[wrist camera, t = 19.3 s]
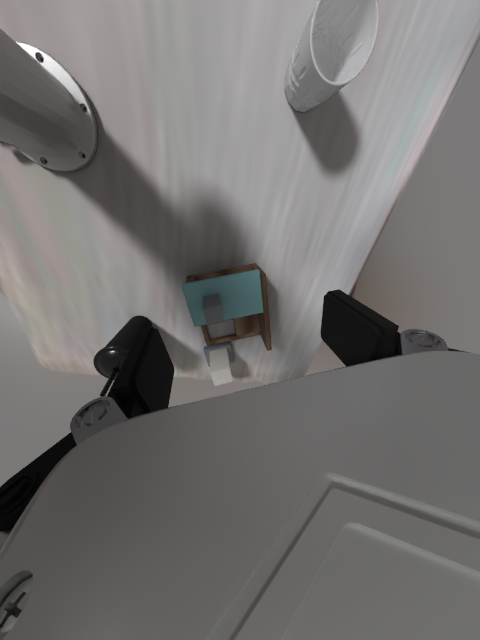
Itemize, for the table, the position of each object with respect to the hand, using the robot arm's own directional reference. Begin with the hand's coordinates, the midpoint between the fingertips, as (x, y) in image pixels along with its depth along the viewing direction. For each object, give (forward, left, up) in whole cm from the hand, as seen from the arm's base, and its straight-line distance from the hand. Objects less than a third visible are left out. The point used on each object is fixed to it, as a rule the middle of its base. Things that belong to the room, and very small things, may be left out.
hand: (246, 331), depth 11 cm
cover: (-1, -9, -25) cm, 27 cm away
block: (-5, -28, -32) cm, 42 cm away
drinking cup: (-21, -15, -33) cm, 42 cm away
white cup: (+18, +20, -33) cm, 43 cm away
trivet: (-5, -28, -33) cm, 44 cm away
